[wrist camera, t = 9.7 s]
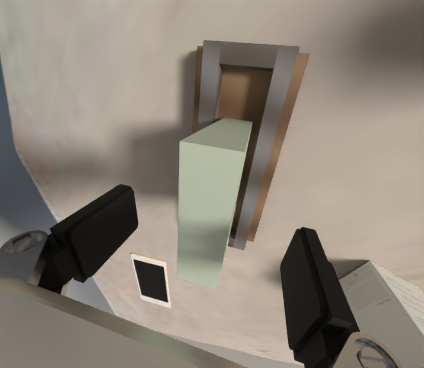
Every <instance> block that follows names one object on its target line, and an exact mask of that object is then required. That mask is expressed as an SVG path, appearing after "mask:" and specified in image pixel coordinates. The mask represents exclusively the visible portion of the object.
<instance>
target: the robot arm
mask: <svg viewBox="0 0 424 368" xmlns="http://www.w3.org/2000/svg"><path fill="white" fill-rule="evenodd" d="M137 227H138V218H137V211H136V204H135V197H134V191H133V190H132V188H131V187H130V186H127V185H122V184H120V185H118V186H116V187H115V188H113V189H112V190H110V191H108V192H107V193H105V194H104V195H102V196H100V197H99V198H97V199H96V200H94V201H92V202H91V203H89V204H88V205H86V206H85V207H83V208H81V209H80V210H78V211H77V212H75V213H73V214H72V215H70V216H69V217H67V218H66V219H64V220H62V221H61V222H59V223H58V224H56V225H54V226H53V227H52V228H50V230H51V234H50V235H48V234H47V233H46V232H45V231H42V230H34V231H29V232H25V233H22V234H19V235H17V236H15V237H13V238H11V239H10V240H9V241H7V242H6V243H5V244H4V245H3V246H2V247H1V248H0V368H246V367H245V366H242V365H240V364H237V363H235V362H232V361H230V360H227V359H225V358H222V357H219V356H217V355H214V354H212V353H209V352H207V351H204V350H202V349H199V348H197V347H194V346H192V345H189V344H187V343H184V342H182V341H179V340H177V339H174V338H171V337H169V336H166V335H164V334H161V333H159V332H156V331H154V330H151V329H148V328H146V327H143V326H141V325H138V324H136V323H133V322H130V321H128V320H125V319H123V318H120V317H118V316H115V315H112V314H110V313H107V312H105V311H102V310H99V309H97V308H94V307H92V306H89V305H86V304H84V303H81V302H79V301H76V300H73V299H71V298H68V297H66V293H67V289H68V284H69V281H70V280H71V279H72V278H74V280H76V281H79V282H82V283H84V282H85V281H86V280H87V278H88V277H91V276H93V275H94V274H95V273H96V272H97V271H98V270H99V268H100V267H101V266H102V265H103V264H104V263H105V262H106V261H107V260H108V259H109V258H110V257H111V256H112V255H113V253H114V252H115V251H116V250H117V249H118V248H119V247H120V246H121V245H122V244H123V243H124V242H125V241H126V240H127V238H128V237H129V236H130V235H131V234H132V233H133V232H134V231H135V230H136V229H137ZM280 271H281V280H282V290H283V299H284V308H285V317H286V326H287V335H288V344H289V348H290V349H291V350H293V353H294V360H295V361H298V362H301V363H304V366H305V368H403V367H402V365H401V363H400V362H399V361H398V359H397V358H396V357H395V356H394V354H393V353H392V352H391V351H390V350H389V349H388V348H387V347H386V346H385V345H384V344H382V343H381V342H380V341H378V340H377V339H376V338H374V337H372V336H370V335H368V334H366V333H362V332H360V330H359V327H358V325H357V322H356V320H355V318H354V315H353V313H352V311H351V308H350V306H349V303H348V301H347V299H346V296H345V294H344V291H343V289H342V287H341V284H340V282H339V279H338V277H337V275H336V272H335V270H334V268H333V266H332V264H331V263H330V262H329V261H328V260H327V258H326V255H325V253H324V250H323V248H322V245H321V243H320V240H319V238H318V235H317V233H316V231H315V230H313V229H309V228H305V227H302V228H301V229H297V230H296V232H295V234H294V236H293V238H292V240H291V243H290V245H289V247H288V249H287V251H286V253H285V256H284V258H283V260H282V262H281V266H280Z"/></svg>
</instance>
